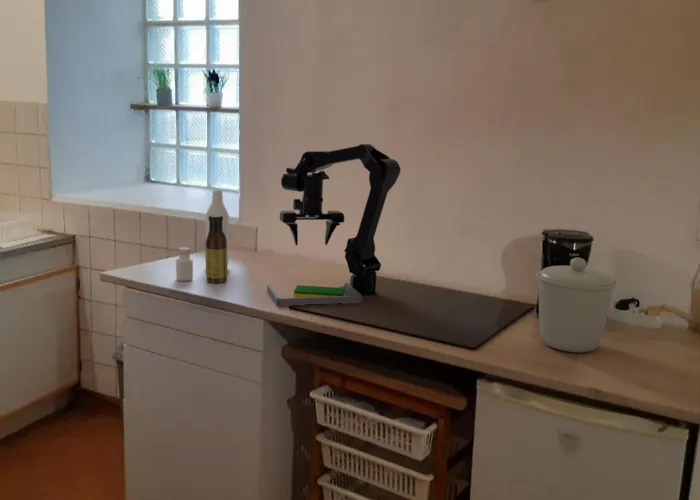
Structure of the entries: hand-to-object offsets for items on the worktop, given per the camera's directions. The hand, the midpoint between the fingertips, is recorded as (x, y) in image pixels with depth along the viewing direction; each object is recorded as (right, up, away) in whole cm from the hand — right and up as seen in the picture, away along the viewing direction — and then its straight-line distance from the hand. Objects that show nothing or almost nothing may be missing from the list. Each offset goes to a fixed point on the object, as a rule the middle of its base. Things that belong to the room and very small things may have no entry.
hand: (311, 244), depth 216 cm
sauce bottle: (-28, -11, -4) cm, 30 cm away
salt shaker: (-37, -11, -4) cm, 39 cm away
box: (+2, -15, -17) cm, 22 cm away
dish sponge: (+3, -15, -15) cm, 22 cm away
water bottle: (-31, -8, +11) cm, 34 cm away
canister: (+63, -24, -48) cm, 83 cm away
